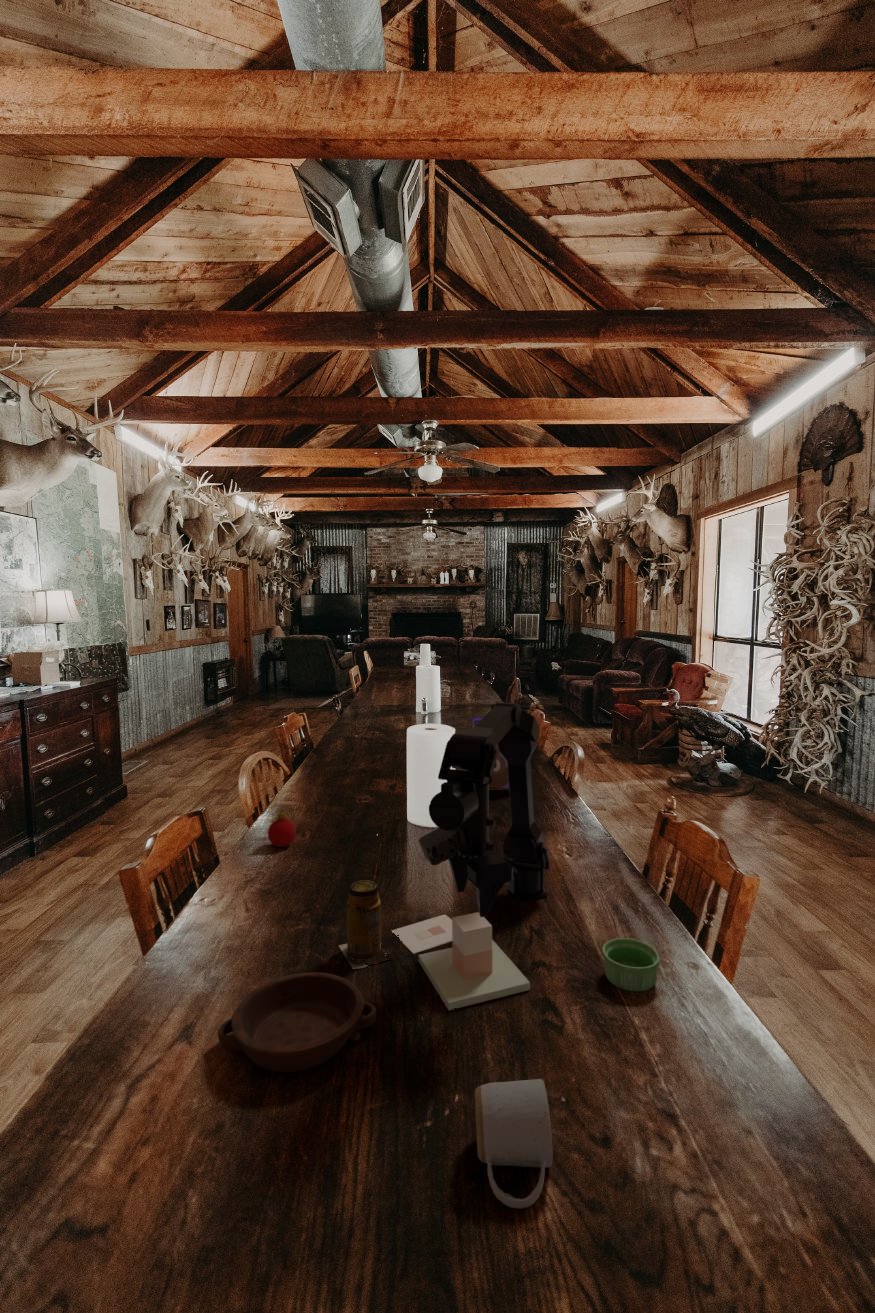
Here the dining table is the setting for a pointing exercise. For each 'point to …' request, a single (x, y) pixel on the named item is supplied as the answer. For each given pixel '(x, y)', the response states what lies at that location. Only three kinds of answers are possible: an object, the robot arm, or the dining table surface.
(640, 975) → the ramekin
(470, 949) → the cream brick
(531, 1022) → the dining table surface
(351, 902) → the condiment
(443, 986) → the baseplate
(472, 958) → the terracotta brick
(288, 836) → the christmas ornament
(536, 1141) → the ceramic mug
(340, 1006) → the dish
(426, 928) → the page
